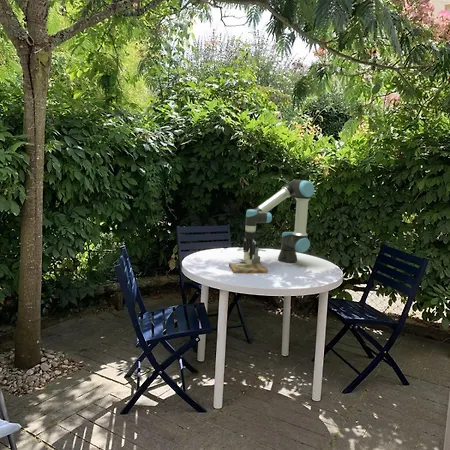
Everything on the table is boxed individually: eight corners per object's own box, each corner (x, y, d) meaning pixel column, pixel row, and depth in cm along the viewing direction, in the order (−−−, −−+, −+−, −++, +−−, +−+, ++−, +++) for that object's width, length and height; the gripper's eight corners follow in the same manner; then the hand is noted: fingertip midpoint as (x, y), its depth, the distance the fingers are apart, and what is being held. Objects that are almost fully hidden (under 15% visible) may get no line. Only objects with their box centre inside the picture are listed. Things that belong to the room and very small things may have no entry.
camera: (262, 248, 316) (243, 249, 311) (261, 264, 318) (243, 265, 313) (257, 246, 324) (239, 247, 319) (256, 261, 326) (238, 262, 321)
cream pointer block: (251, 265, 305) (252, 251, 304) (253, 265, 303) (254, 252, 301) (235, 265, 301) (236, 252, 299) (236, 266, 298) (237, 253, 297)
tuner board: (260, 266, 311) (260, 263, 311) (267, 273, 293) (267, 270, 293) (228, 265, 307) (228, 262, 307) (233, 273, 289) (234, 270, 288)
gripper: (239, 229, 303) (237, 261, 307) (253, 233, 290) (251, 266, 294) (247, 229, 307) (245, 260, 311) (261, 232, 294) (259, 265, 298)
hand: (248, 263), depth 302 cm, fingers closed on cream pointer block, 3 cm apart
